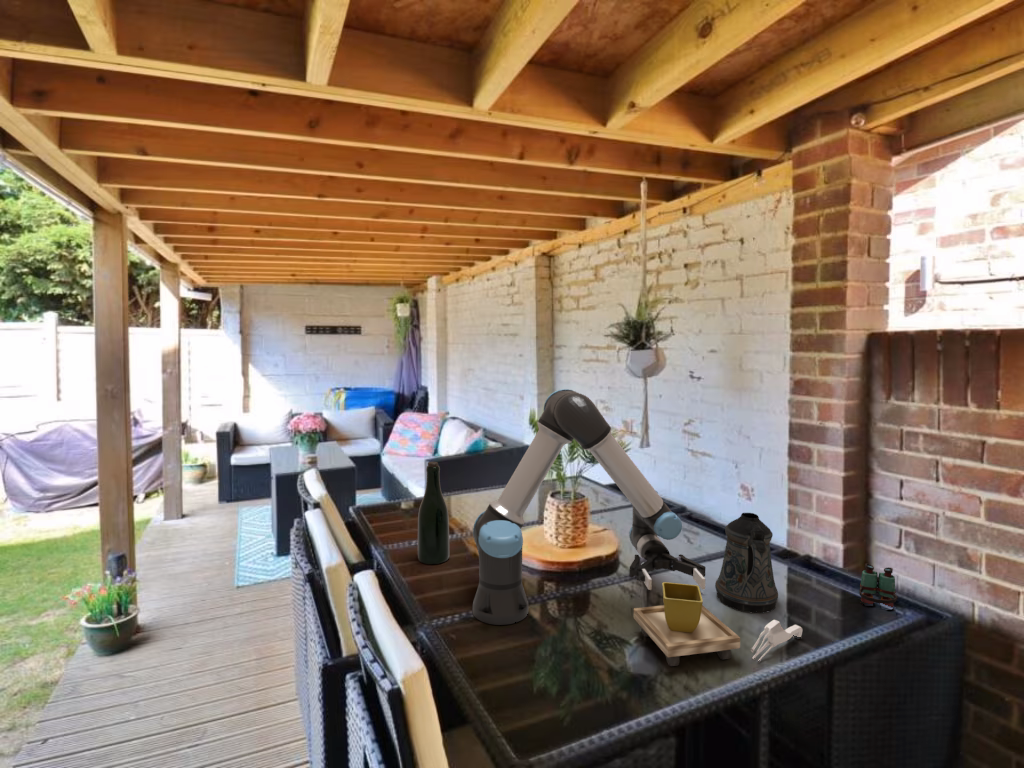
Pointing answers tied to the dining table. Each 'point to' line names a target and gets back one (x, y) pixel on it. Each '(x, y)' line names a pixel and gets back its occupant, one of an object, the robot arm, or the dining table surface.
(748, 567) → the beer stein
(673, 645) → the plant caddy
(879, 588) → the binoculars
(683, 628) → the flower pot
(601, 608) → the dining table surface
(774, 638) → the llama figurine
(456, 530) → the dining table surface
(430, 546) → the dark green wine bottle
